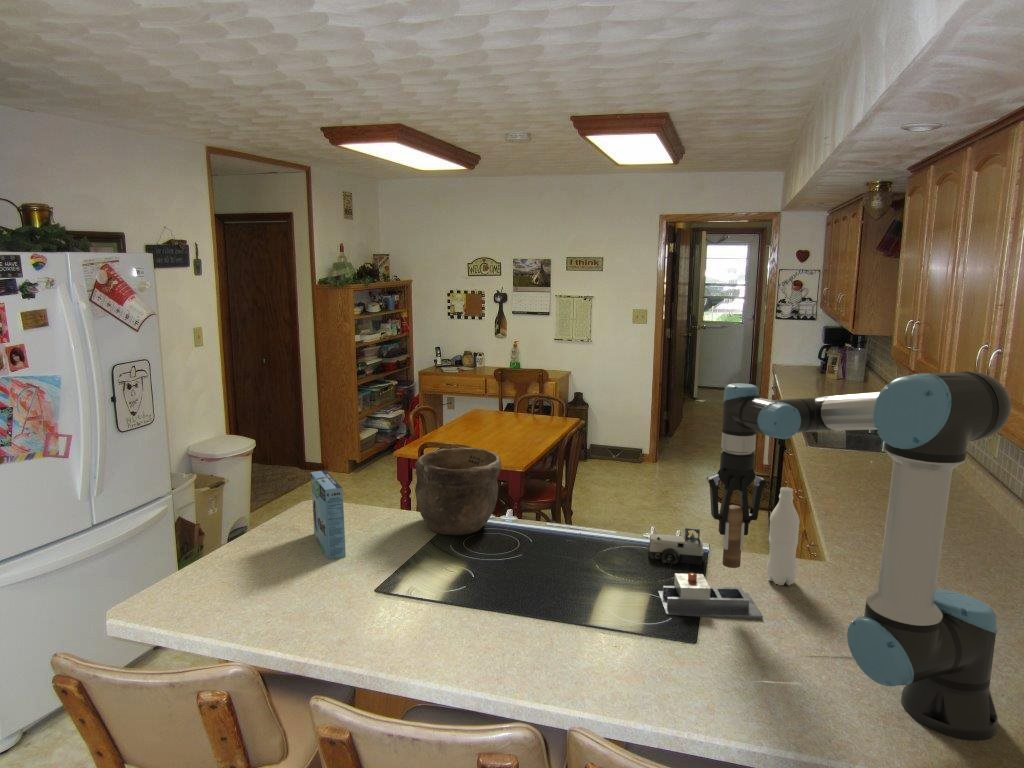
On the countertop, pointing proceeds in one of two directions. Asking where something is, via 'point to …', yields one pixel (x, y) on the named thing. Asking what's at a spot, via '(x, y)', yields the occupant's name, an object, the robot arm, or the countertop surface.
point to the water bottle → (783, 539)
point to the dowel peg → (733, 537)
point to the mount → (712, 604)
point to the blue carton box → (328, 514)
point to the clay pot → (457, 489)
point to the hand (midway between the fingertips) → (732, 547)
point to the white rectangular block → (692, 586)
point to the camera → (677, 548)
